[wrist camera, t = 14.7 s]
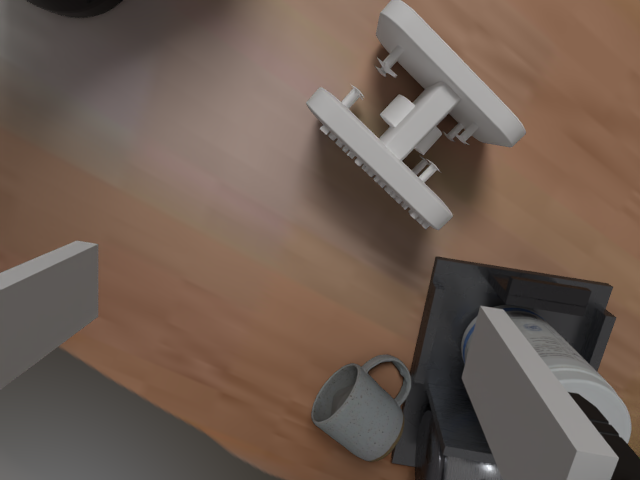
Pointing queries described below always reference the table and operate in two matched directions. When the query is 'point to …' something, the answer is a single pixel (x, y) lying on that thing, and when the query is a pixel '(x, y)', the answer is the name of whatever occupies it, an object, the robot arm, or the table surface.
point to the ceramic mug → (362, 410)
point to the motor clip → (447, 364)
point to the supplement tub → (564, 365)
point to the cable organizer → (417, 113)
